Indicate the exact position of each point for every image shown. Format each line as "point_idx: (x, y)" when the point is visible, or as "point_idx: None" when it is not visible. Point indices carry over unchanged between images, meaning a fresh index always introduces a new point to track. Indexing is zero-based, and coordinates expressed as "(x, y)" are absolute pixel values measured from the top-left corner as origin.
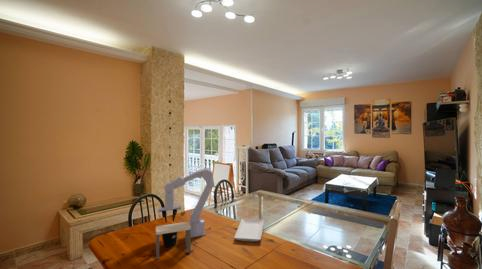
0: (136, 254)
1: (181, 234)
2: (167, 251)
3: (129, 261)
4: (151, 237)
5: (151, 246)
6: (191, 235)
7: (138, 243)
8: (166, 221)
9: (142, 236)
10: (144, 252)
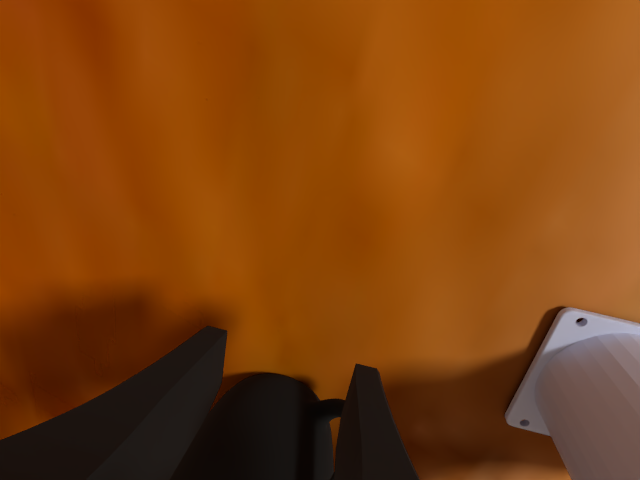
0: (30, 386)
1: (466, 288)
2: None
3: (4, 433)
4: (130, 155)
5: (130, 344)
6: (536, 403)
7: (12, 220)
8: (206, 407)
9: (25, 55)
10: (82, 394)
